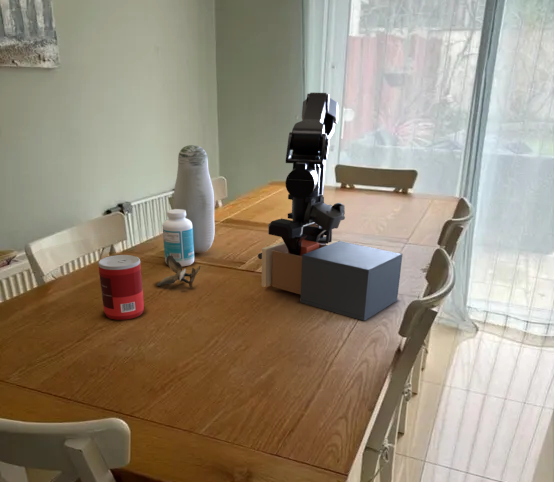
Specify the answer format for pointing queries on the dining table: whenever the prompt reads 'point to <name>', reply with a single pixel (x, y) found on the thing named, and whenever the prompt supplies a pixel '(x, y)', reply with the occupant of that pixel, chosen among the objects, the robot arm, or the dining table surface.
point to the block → (308, 246)
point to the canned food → (121, 286)
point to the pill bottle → (178, 237)
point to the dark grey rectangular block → (350, 279)
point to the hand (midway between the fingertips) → (303, 260)
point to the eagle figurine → (178, 273)
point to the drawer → (281, 268)
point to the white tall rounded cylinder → (196, 195)
